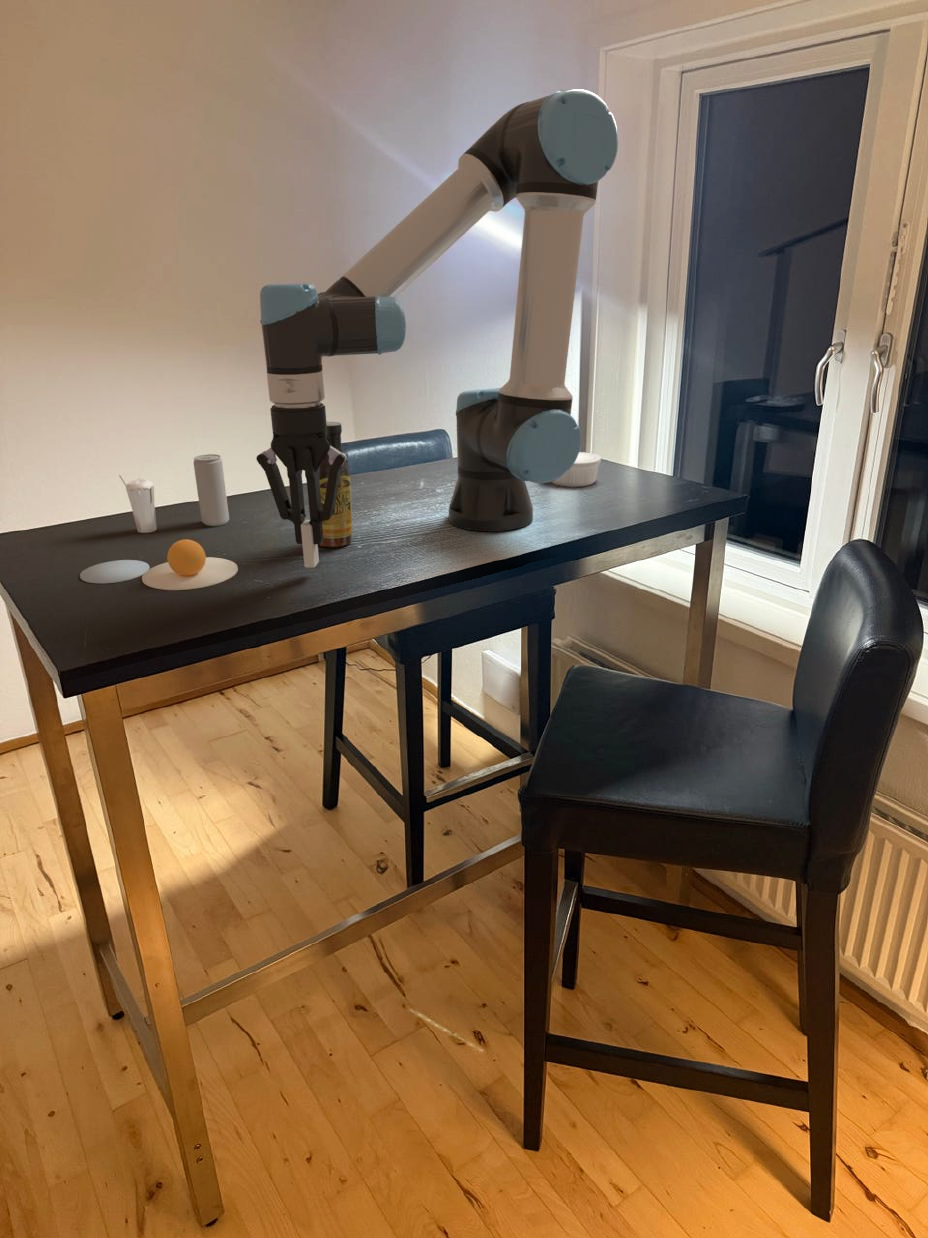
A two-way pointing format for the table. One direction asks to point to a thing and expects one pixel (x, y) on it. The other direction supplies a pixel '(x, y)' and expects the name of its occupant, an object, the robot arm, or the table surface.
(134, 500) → the milkshake
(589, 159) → the robot arm
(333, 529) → the sauce bottle
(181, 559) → the ball
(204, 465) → the beverage can
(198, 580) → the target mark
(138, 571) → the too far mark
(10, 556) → the table surface
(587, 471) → the ramekin
